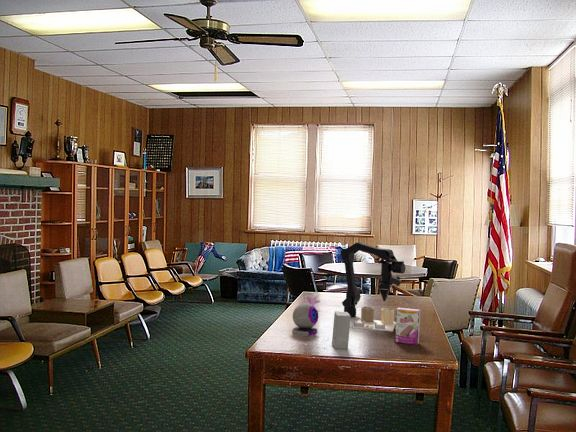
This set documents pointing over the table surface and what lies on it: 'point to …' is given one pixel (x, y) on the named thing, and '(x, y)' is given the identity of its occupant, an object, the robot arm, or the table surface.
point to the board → (371, 324)
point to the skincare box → (341, 330)
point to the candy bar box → (407, 326)
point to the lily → (311, 300)
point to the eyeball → (305, 319)
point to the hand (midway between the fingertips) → (385, 299)
